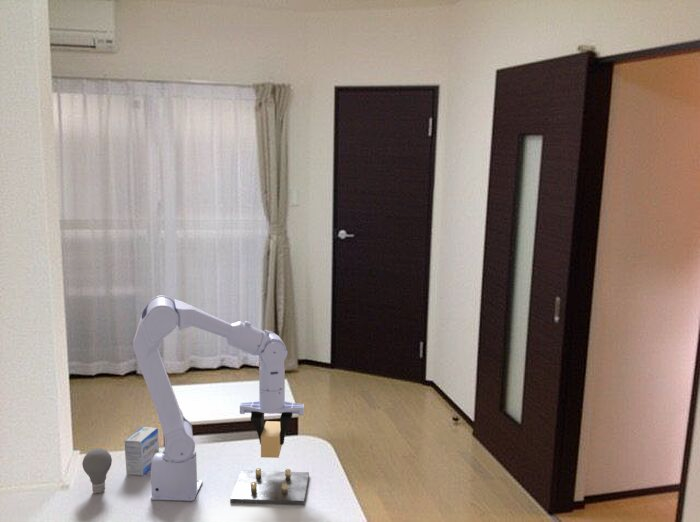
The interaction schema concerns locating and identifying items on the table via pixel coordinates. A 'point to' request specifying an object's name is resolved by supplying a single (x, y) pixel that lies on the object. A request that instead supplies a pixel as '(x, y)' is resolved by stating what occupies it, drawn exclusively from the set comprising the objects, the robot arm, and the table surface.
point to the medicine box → (141, 450)
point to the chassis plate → (270, 487)
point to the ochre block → (271, 440)
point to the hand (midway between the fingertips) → (272, 442)
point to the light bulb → (97, 467)
